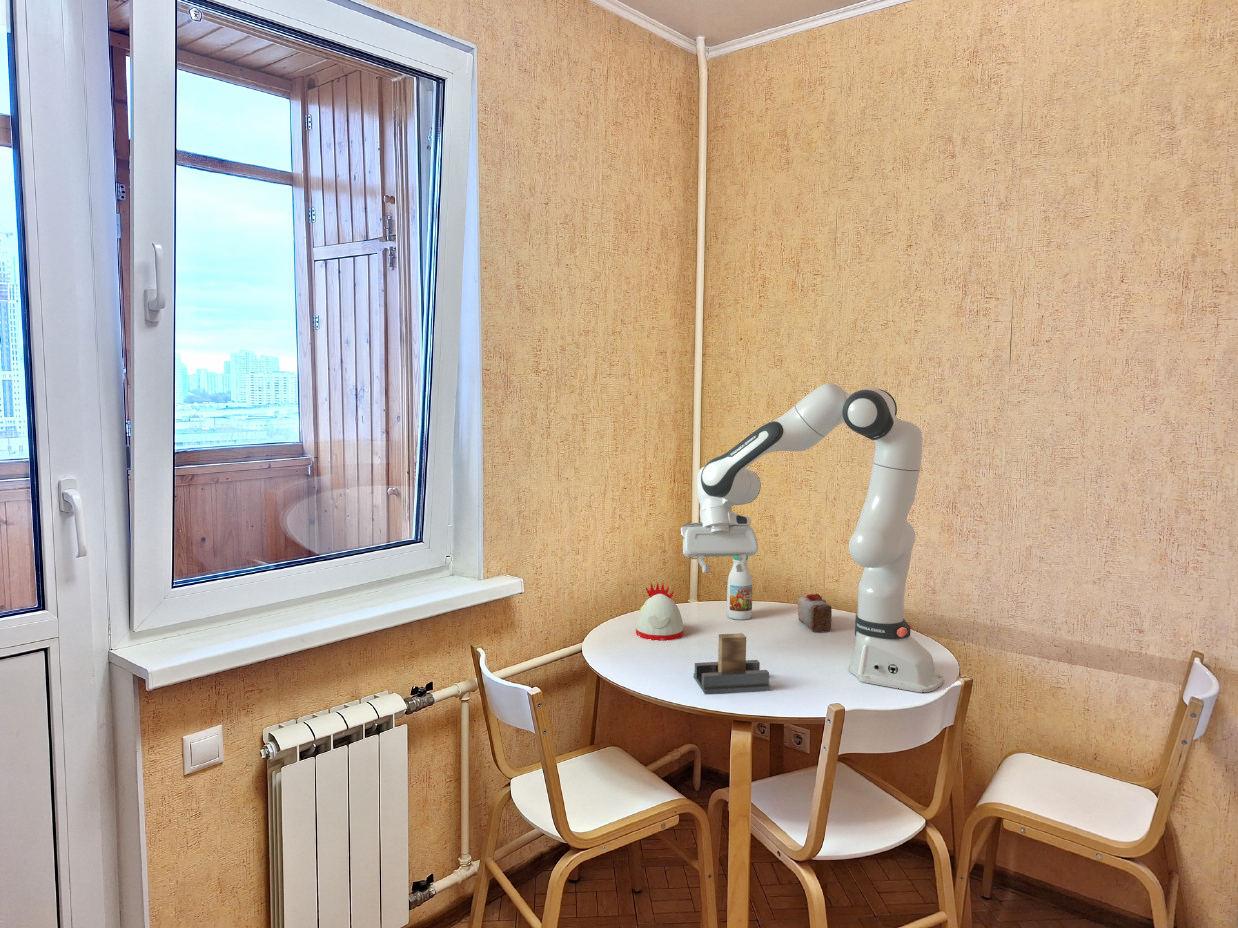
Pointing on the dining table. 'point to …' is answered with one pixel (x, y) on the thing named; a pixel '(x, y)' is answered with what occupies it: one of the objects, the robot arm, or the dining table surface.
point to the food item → (814, 612)
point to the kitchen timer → (659, 617)
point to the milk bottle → (739, 592)
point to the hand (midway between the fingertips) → (723, 571)
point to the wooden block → (732, 652)
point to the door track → (731, 678)
